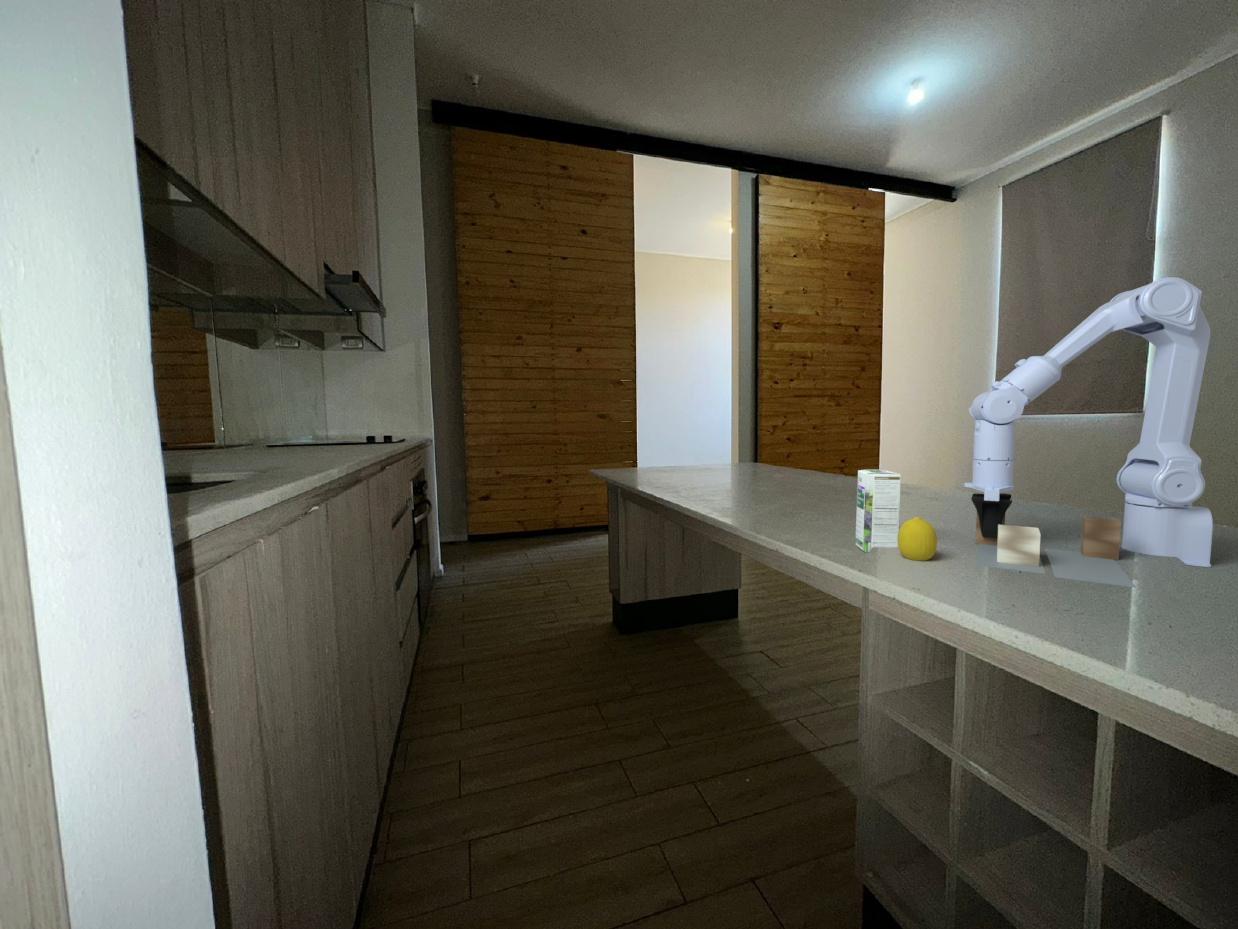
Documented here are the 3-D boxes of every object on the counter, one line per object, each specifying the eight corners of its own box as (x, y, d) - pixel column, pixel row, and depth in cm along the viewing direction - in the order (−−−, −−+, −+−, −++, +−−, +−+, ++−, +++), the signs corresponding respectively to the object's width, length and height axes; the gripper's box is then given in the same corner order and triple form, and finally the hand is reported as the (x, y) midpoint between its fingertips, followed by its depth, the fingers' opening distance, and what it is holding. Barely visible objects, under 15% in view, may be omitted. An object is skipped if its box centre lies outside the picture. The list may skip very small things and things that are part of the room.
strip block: (1036, 551, 86) (1038, 511, 85) (1045, 580, 71) (1047, 532, 71) (975, 545, 91) (977, 507, 90) (972, 570, 76) (974, 526, 76)
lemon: (944, 569, 78) (945, 519, 77) (908, 570, 78) (909, 520, 77) (923, 559, 83) (924, 513, 83) (890, 560, 84) (891, 513, 83)
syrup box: (854, 545, 94) (855, 469, 92) (887, 545, 93) (889, 468, 92) (864, 553, 88) (866, 472, 87) (900, 553, 87) (902, 472, 86)
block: (1036, 558, 78) (1038, 527, 78) (1038, 566, 74) (1040, 534, 74) (996, 554, 81) (998, 524, 81) (997, 561, 77) (998, 530, 77)
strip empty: (1114, 561, 79) (1117, 518, 78) (1141, 595, 65) (1144, 542, 64) (1044, 554, 84) (1046, 513, 83) (1054, 583, 70) (1057, 535, 69)
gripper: (966, 455, 95) (964, 525, 96) (963, 462, 83) (960, 541, 85) (1013, 456, 91) (1010, 529, 92) (1017, 463, 79) (1013, 546, 81)
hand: (989, 535), depth 88 cm, fingers closed on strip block, 3 cm apart
